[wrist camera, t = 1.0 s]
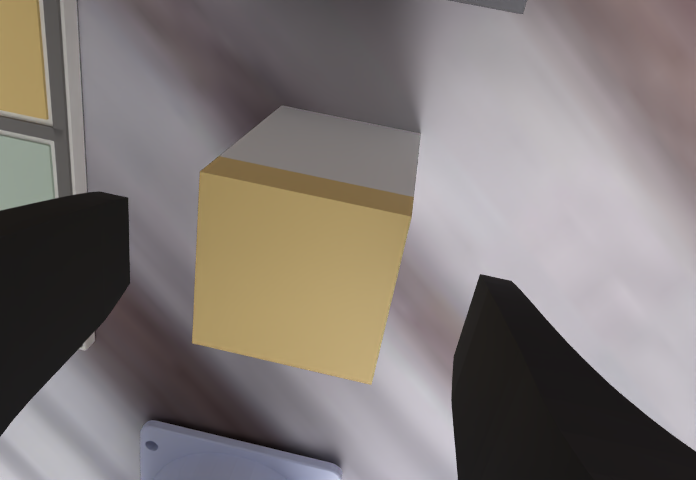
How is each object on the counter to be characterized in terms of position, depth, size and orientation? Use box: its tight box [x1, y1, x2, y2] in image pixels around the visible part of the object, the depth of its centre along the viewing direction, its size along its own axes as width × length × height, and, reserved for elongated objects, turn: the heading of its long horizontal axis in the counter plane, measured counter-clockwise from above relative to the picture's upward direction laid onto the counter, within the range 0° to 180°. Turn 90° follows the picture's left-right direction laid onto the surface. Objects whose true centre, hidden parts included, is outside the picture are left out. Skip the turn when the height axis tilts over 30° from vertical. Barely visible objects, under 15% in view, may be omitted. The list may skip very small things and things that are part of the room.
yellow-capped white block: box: [192, 105, 421, 385], centre depth 14 cm, size 4×4×6 cm
